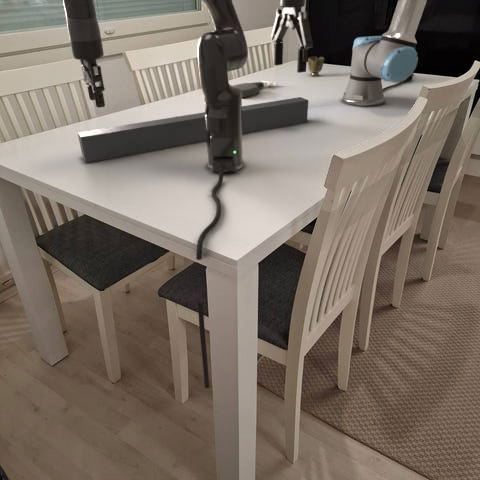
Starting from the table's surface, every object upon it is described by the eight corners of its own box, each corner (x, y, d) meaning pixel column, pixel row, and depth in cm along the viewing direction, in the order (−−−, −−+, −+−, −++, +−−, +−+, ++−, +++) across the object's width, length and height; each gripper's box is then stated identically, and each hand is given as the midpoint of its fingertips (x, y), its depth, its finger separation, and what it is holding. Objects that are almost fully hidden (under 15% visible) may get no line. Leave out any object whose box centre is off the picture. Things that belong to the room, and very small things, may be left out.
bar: (86, 163, 123) (80, 137, 119) (82, 157, 127) (77, 132, 123) (307, 122, 151) (308, 100, 147) (299, 118, 155) (300, 96, 151)
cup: (304, 76, 210) (305, 58, 205) (310, 73, 215) (311, 55, 211) (319, 77, 207) (321, 59, 202) (324, 74, 212) (326, 56, 208)
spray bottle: (223, 95, 183) (259, 84, 199) (243, 99, 177) (279, 87, 193) (222, 87, 181) (259, 77, 197) (243, 91, 175) (279, 80, 191)
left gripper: (106, 39, 107) (117, 107, 116) (94, 33, 118) (105, 95, 126) (74, 42, 104) (88, 111, 113) (65, 35, 115) (78, 99, 124)
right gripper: (329, -8, 122) (322, 73, 133) (281, -11, 141) (279, 60, 152) (306, -6, 119) (301, 76, 130) (260, -10, 138) (259, 62, 149)
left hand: (97, 103), depth 120 cm, fingers open, 8 cm apart
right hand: (289, 68), depth 141 cm, fingers open, 13 cm apart
